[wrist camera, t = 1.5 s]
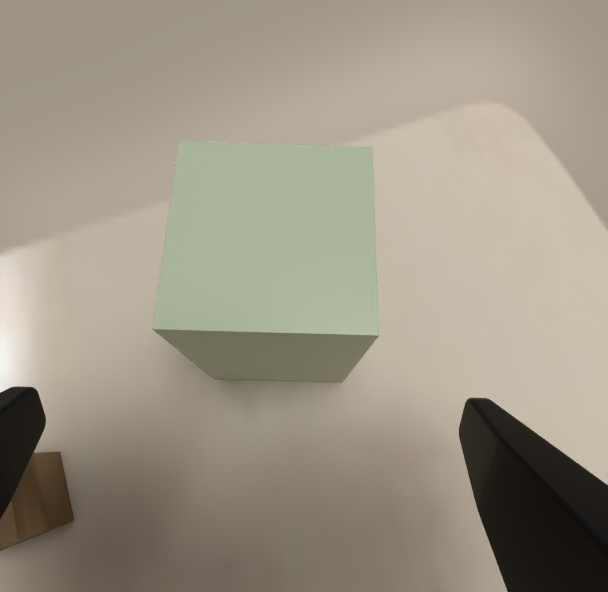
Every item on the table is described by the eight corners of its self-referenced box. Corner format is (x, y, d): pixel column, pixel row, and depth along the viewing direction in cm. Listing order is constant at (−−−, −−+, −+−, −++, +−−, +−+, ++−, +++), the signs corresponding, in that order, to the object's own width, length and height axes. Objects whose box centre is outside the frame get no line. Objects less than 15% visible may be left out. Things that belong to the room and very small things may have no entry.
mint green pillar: (342, 382, 21) (379, 335, 12) (213, 378, 21) (151, 329, 12) (341, 264, 23) (372, 146, 14) (224, 260, 23) (178, 140, 14)
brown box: (73, 520, 19) (18, 539, 15) (2, 549, 18) (-73, 577, 15) (59, 452, 20) (3, 454, 16) (-9, 478, 19) (-83, 487, 15)
